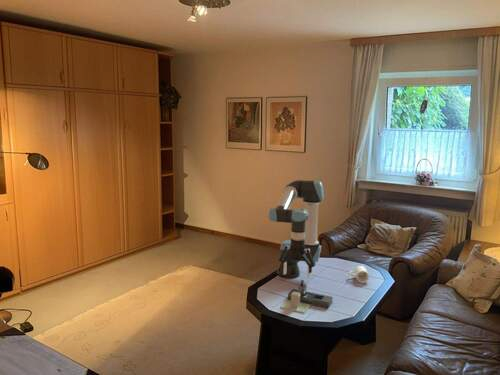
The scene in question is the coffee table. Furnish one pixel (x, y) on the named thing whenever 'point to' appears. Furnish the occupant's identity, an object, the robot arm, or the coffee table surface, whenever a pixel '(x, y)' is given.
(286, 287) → the coffee table surface
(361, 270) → the mug
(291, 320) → the coffee table surface
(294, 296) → the plug
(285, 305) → the tray
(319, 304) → the panel
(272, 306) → the coffee table surface
